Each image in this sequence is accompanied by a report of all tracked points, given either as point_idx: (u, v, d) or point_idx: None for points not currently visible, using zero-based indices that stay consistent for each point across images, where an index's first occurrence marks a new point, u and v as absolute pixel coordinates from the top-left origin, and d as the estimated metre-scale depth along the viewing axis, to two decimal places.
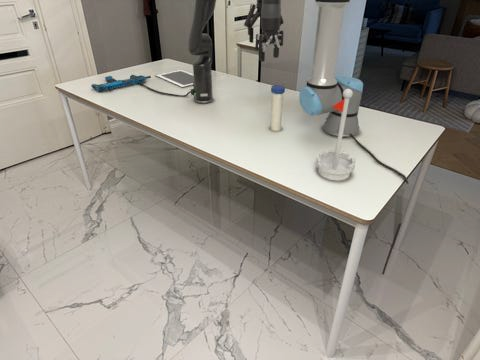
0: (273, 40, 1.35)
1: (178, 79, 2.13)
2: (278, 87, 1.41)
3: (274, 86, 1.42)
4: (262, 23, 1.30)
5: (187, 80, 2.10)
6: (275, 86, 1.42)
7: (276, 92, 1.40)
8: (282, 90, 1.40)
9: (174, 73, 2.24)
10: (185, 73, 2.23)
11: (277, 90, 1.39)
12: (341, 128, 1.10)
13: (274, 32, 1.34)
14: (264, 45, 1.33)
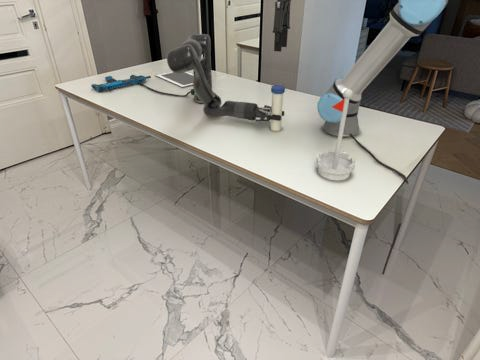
0: None
1: (178, 79, 2.13)
2: (278, 87, 1.41)
3: (274, 86, 1.42)
4: None
5: (187, 80, 2.10)
6: (275, 86, 1.42)
7: (276, 92, 1.40)
8: (282, 90, 1.40)
9: (174, 73, 2.24)
10: (185, 73, 2.23)
11: (277, 90, 1.39)
12: (341, 128, 1.10)
13: None
14: (270, 113, 1.52)
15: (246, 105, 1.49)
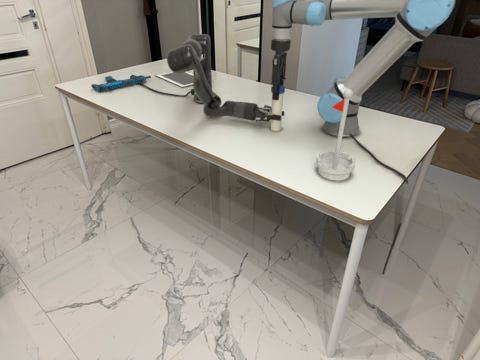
0: None
1: (178, 79, 2.13)
2: None
3: None
4: None
5: (187, 80, 2.10)
6: None
7: None
8: (282, 90, 1.40)
9: (174, 73, 2.24)
10: (185, 73, 2.23)
11: None
12: (341, 128, 1.10)
13: None
14: (270, 113, 1.52)
15: (246, 105, 1.49)
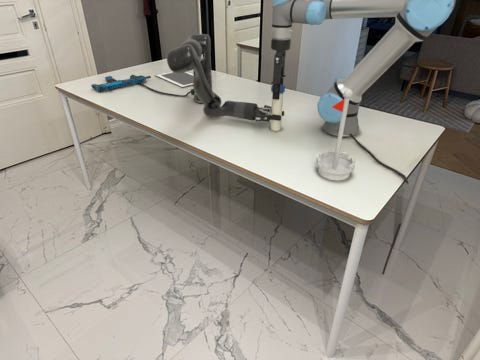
0: None
1: (178, 79, 2.13)
2: None
3: None
4: None
5: (187, 80, 2.10)
6: None
7: (284, 90, 1.41)
8: None
9: (174, 73, 2.24)
10: (185, 73, 2.23)
11: (284, 88, 1.41)
12: (341, 128, 1.10)
13: None
14: (270, 113, 1.52)
15: (246, 105, 1.49)
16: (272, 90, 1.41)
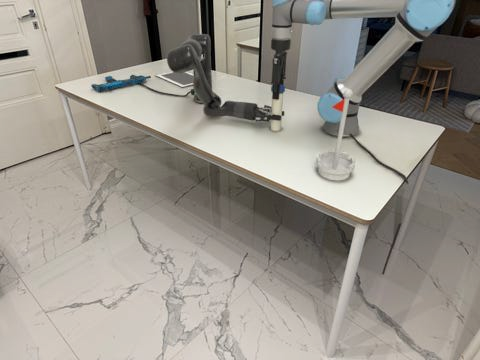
0: None
1: (178, 79, 2.13)
2: None
3: None
4: None
5: (187, 80, 2.10)
6: None
7: (284, 90, 1.41)
8: None
9: (174, 73, 2.24)
10: (185, 73, 2.23)
11: (284, 88, 1.41)
12: (341, 128, 1.10)
13: None
14: (270, 113, 1.52)
15: (246, 105, 1.49)
16: (272, 90, 1.41)
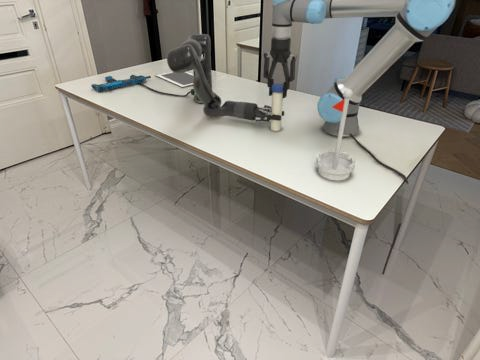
0: None
1: (178, 79, 2.13)
2: (278, 85, 1.42)
3: (281, 86, 1.40)
4: None
5: (187, 80, 2.10)
6: (280, 86, 1.40)
7: None
8: None
9: (174, 73, 2.24)
10: (185, 73, 2.23)
11: None
12: (341, 128, 1.10)
13: None
14: (270, 113, 1.52)
15: (246, 105, 1.49)
16: (281, 90, 1.40)
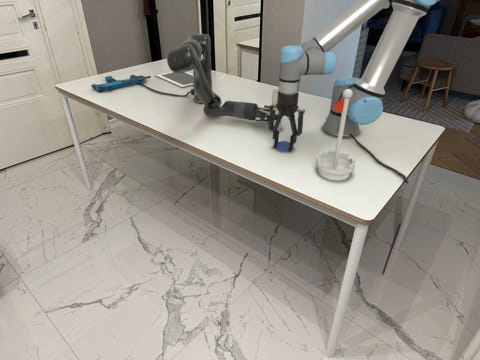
0: None
1: (178, 79, 2.13)
2: (284, 143, 1.35)
3: (287, 145, 1.34)
4: None
5: (187, 80, 2.10)
6: (286, 144, 1.34)
7: None
8: None
9: (174, 73, 2.24)
10: (185, 73, 2.23)
11: None
12: (341, 128, 1.10)
13: None
14: None
15: (246, 105, 1.49)
16: (287, 149, 1.33)
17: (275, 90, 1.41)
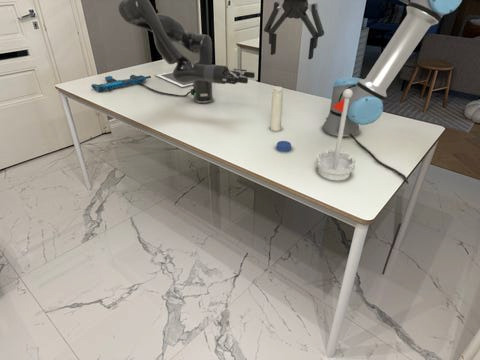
0: None
1: None
2: (284, 143, 1.35)
3: (287, 145, 1.34)
4: None
5: None
6: (286, 144, 1.34)
7: None
8: None
9: None
10: None
11: None
12: (341, 128, 1.10)
13: None
14: None
15: (216, 67, 1.44)
16: (287, 149, 1.33)
17: (275, 90, 1.41)
